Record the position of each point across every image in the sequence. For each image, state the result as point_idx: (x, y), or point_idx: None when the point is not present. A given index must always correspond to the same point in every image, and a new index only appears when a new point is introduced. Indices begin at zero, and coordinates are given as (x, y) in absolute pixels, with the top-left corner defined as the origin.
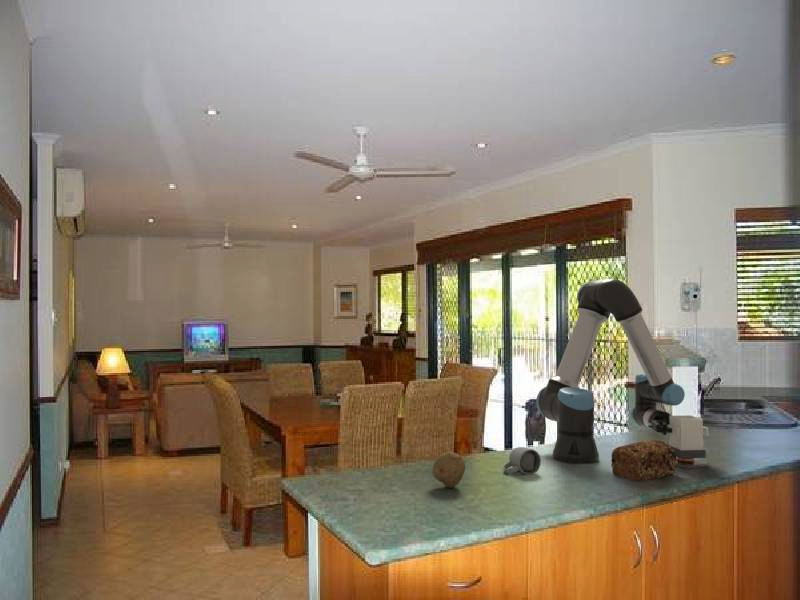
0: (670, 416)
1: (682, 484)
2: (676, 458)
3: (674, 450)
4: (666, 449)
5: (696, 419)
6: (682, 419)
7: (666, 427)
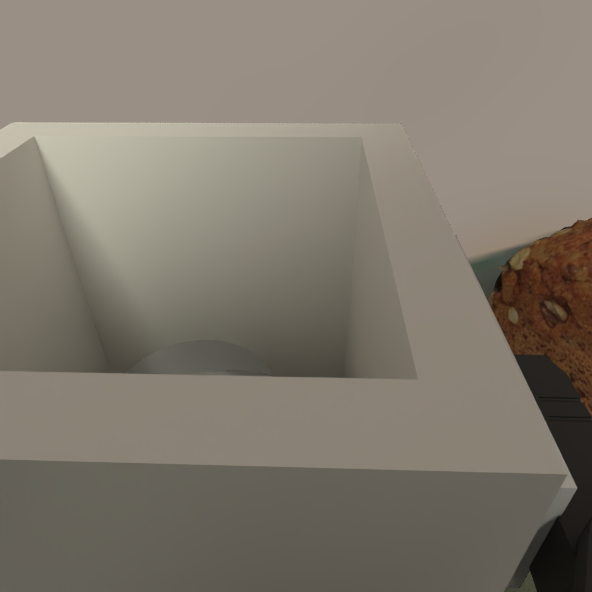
0: (525, 415)
1: (489, 260)
2: (489, 296)
3: (516, 254)
4: (587, 220)
5: (125, 130)
6: (378, 127)
7: (590, 437)
